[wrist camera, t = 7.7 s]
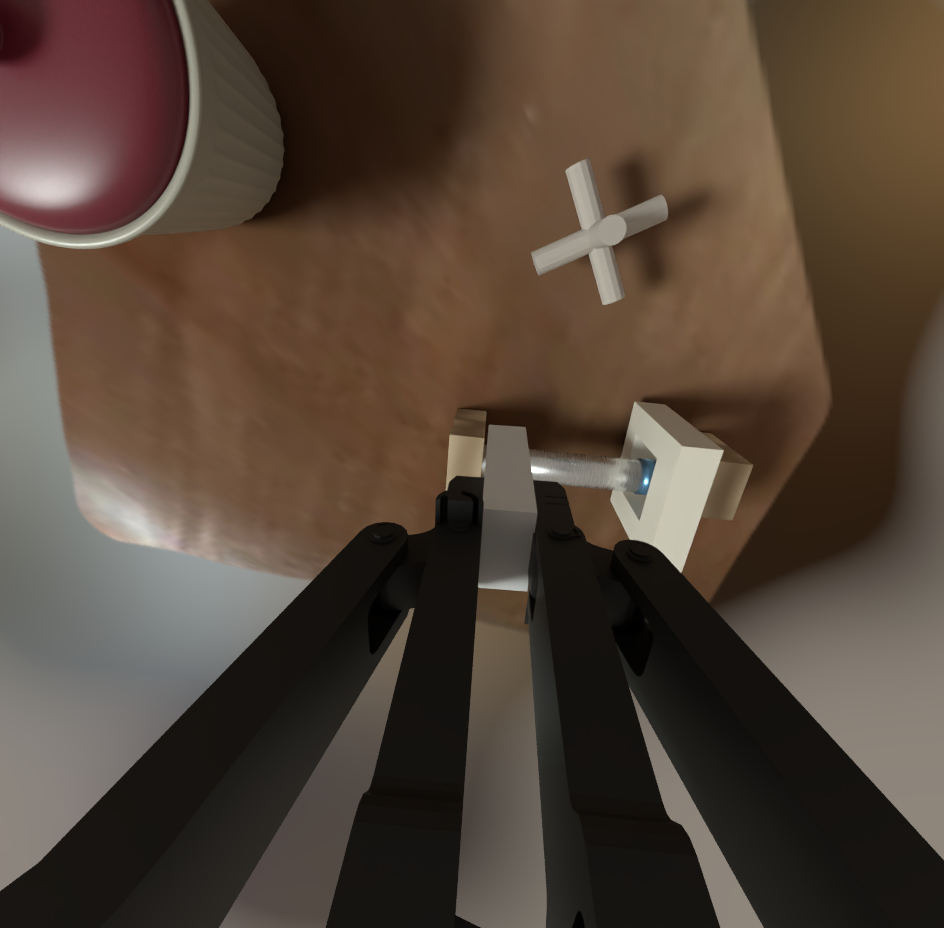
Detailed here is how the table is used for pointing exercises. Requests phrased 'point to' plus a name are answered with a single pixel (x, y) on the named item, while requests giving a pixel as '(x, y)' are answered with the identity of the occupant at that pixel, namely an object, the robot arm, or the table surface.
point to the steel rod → (589, 470)
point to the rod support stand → (732, 466)
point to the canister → (130, 122)
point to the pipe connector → (598, 232)
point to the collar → (667, 480)
